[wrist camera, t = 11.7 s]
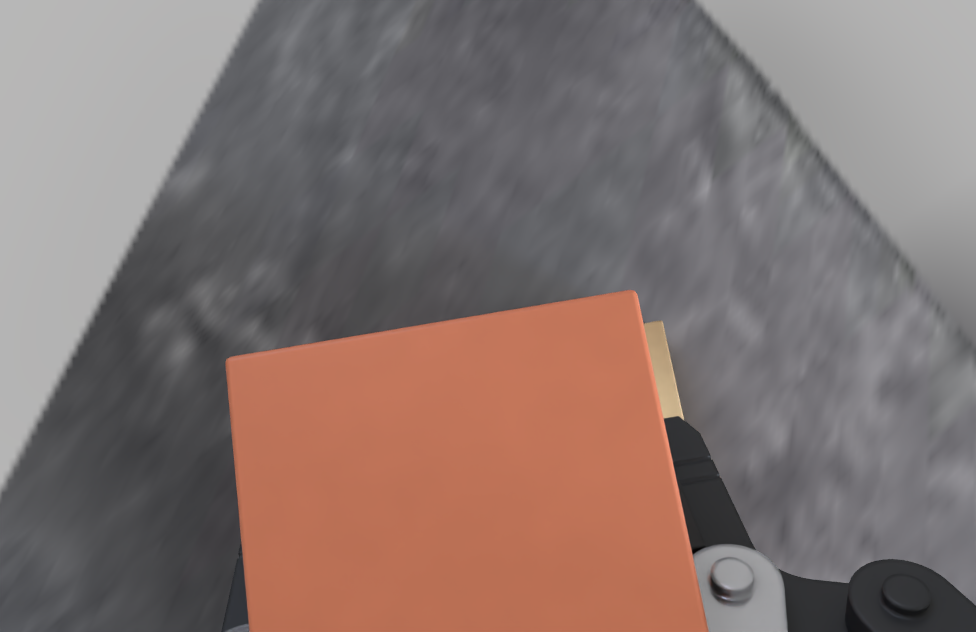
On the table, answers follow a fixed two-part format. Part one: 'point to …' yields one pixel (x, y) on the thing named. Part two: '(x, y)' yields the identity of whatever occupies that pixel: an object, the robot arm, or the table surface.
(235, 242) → the table surface
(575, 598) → the orange striped block
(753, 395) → the table surface
